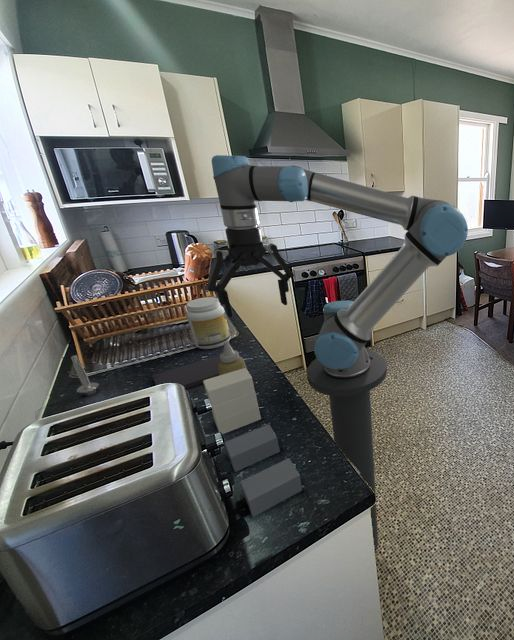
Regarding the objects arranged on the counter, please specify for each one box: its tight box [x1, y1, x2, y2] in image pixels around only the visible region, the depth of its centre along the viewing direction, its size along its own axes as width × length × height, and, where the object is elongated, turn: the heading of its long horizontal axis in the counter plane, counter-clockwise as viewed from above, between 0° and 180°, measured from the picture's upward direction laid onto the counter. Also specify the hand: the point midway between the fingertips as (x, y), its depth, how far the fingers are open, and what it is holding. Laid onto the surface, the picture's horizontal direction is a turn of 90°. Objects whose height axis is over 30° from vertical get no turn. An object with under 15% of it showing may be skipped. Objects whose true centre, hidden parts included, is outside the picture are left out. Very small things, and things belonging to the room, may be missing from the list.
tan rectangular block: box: [203, 367, 256, 406], centre depth 89 cm, size 10×6×4 cm, turn 130°
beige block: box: [207, 391, 259, 421], centre depth 91 cm, size 10×6×4 cm, turn 130°
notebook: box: [152, 354, 221, 390], centre depth 112 cm, size 13×2×21 cm
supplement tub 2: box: [186, 296, 232, 350], centre depth 130 cm, size 12×12×17 cm
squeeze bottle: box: [218, 341, 249, 376], centre depth 100 cm, size 8×8×18 cm
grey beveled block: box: [240, 457, 303, 518], centre depth 72 cm, size 10×6×4 cm, turn 130°
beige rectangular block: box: [211, 405, 262, 435], centre depth 92 cm, size 10×6×4 cm, turn 130°
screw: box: [70, 355, 100, 397], centre depth 100 cm, size 13×5×5 cm
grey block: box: [224, 423, 281, 473], centre depth 82 cm, size 10×6×4 cm, turn 130°
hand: (258, 309), depth 91 cm, fingers open, 13 cm apart
